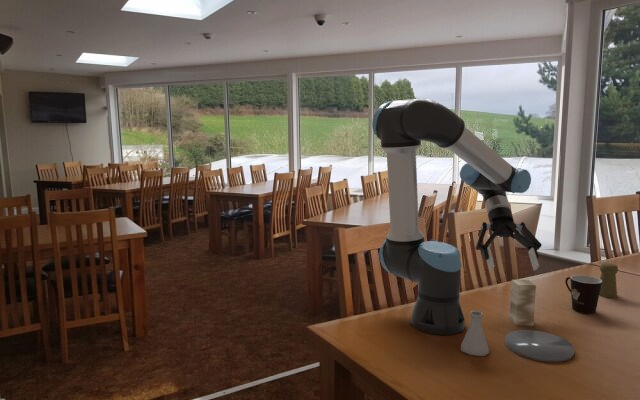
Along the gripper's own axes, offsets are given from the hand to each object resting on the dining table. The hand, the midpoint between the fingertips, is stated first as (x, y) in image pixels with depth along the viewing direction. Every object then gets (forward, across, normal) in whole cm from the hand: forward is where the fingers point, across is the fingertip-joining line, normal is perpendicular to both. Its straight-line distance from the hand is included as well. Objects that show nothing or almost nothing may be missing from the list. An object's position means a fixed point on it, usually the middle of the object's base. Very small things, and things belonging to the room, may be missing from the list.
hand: (514, 268), depth 143 cm
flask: (+29, +20, +10) cm, 37 cm away
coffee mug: (+8, -23, -11) cm, 27 cm away
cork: (0, -38, -20) cm, 43 cm away
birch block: (+16, +1, -3) cm, 16 cm away
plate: (+28, +3, +9) cm, 29 cm away
